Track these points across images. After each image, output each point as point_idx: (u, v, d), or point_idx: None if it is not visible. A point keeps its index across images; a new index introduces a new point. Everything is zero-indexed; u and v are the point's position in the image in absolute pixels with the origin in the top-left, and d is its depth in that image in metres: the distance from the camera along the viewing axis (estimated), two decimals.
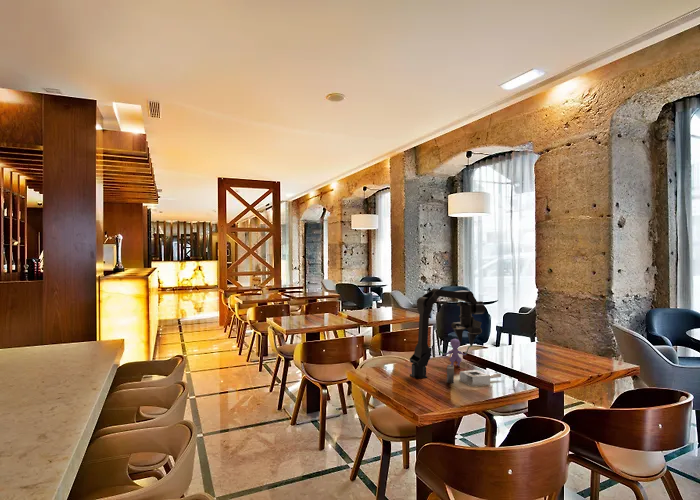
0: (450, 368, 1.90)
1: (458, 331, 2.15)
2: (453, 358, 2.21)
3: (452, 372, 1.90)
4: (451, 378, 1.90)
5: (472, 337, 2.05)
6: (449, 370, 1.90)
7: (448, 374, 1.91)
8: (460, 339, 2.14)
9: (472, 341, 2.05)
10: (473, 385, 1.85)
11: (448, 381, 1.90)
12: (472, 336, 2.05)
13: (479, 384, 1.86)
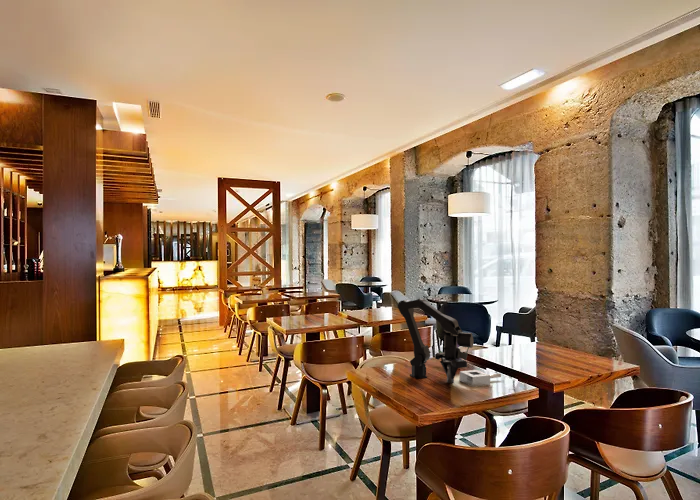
0: None
1: (445, 364, 1.93)
2: None
3: None
4: None
5: (453, 369, 1.89)
6: None
7: (448, 374, 1.91)
8: None
9: (453, 374, 1.89)
10: (473, 385, 1.85)
11: (448, 381, 1.90)
12: (453, 368, 1.89)
13: (479, 384, 1.86)
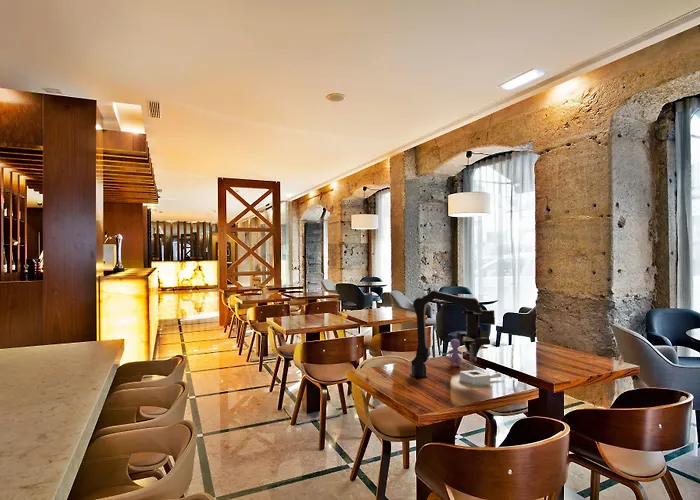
0: None
1: (468, 343, 1.93)
2: (453, 358, 2.21)
3: None
4: None
5: (476, 348, 1.89)
6: None
7: (471, 352, 1.91)
8: None
9: (476, 352, 1.89)
10: (473, 385, 1.85)
11: (471, 359, 1.91)
12: (476, 347, 1.89)
13: (479, 384, 1.86)
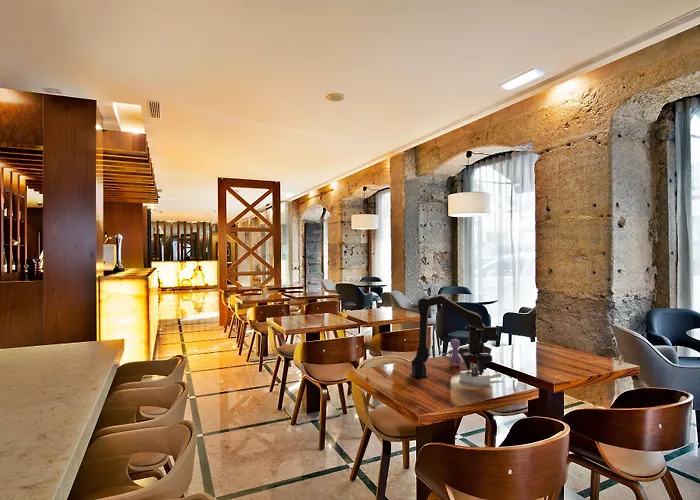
0: (475, 367, 1.90)
1: (466, 357, 1.96)
2: (453, 358, 2.21)
3: (477, 371, 1.90)
4: None
5: (482, 365, 1.86)
6: (474, 369, 1.90)
7: (473, 373, 1.91)
8: (468, 366, 1.96)
9: (482, 370, 1.86)
10: (473, 385, 1.85)
11: None
12: (482, 364, 1.86)
13: (479, 384, 1.86)
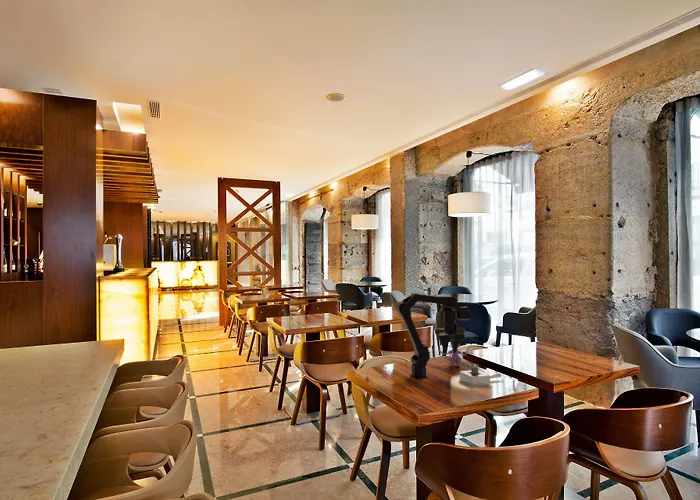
0: (474, 367, 1.90)
1: (441, 337, 2.08)
2: (453, 358, 2.21)
3: (476, 371, 1.90)
4: None
5: (455, 344, 1.98)
6: (473, 369, 1.90)
7: (472, 373, 1.91)
8: (444, 346, 2.07)
9: (455, 348, 1.98)
10: (473, 385, 1.85)
11: None
12: (455, 343, 1.98)
13: (479, 384, 1.86)
